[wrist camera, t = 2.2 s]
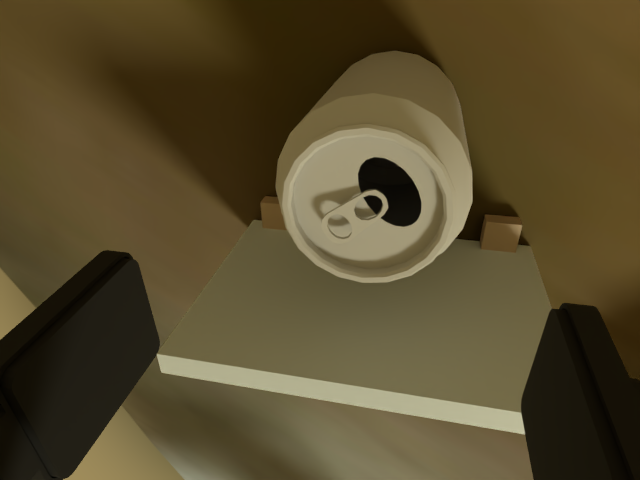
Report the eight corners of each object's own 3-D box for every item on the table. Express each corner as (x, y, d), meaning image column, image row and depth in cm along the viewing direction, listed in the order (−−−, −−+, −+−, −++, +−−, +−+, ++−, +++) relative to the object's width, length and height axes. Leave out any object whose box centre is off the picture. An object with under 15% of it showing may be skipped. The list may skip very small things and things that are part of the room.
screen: (519, 286, 29) (569, 473, 19) (257, 257, 33) (169, 400, 22) (537, 218, 27) (607, 389, 16) (251, 194, 30) (147, 321, 19)
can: (485, 137, 25) (518, 249, 15) (373, 200, 29) (340, 326, 19) (414, 16, 23) (398, 54, 13) (302, 100, 26) (220, 182, 16)
